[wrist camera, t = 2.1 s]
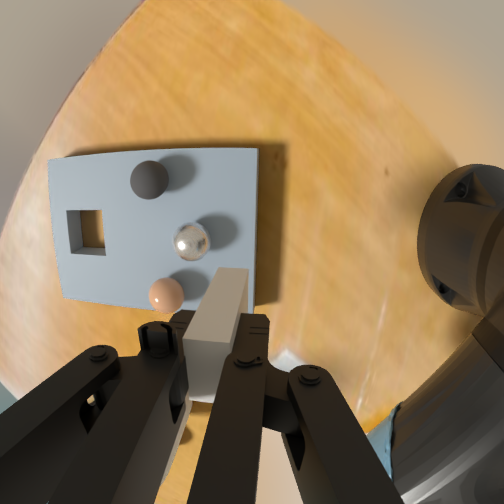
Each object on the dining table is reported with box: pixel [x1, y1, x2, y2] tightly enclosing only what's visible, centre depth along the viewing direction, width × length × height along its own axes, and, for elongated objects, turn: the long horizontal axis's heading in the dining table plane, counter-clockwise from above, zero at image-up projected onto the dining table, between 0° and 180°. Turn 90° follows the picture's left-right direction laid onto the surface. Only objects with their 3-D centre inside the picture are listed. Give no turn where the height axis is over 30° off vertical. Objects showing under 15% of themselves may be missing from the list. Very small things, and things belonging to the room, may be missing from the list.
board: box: [48, 148, 259, 314], centre depth 29 cm, size 21×15×2 cm
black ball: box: [130, 160, 169, 200], centre depth 24 cm, size 3×3×3 cm
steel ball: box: [172, 222, 211, 261], centre depth 26 cm, size 3×3×3 cm
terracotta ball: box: [149, 277, 184, 314], centre depth 27 cm, size 3×3×3 cm
